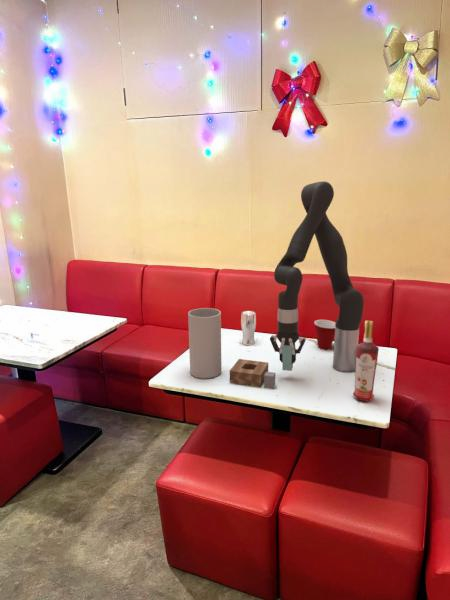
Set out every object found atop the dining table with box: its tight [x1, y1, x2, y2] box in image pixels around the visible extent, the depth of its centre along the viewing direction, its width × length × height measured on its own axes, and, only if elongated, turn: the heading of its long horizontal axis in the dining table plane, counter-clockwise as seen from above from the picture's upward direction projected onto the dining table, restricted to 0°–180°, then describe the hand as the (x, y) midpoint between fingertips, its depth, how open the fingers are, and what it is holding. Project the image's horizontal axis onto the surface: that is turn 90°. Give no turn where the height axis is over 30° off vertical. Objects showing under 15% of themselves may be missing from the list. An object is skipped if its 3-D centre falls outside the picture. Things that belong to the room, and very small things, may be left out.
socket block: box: [229, 358, 269, 388], centre depth 164 cm, size 12×12×5 cm
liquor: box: [352, 320, 380, 402], centre depth 145 cm, size 7×7×28 cm
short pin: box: [263, 371, 276, 390], centre depth 158 cm, size 3×3×5 cm
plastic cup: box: [313, 319, 336, 351], centre depth 194 cm, size 11×11×12 cm
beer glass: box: [240, 310, 257, 346], centre depth 200 cm, size 7×7×15 cm
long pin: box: [281, 345, 294, 372], centre depth 162 cm, size 3×3×10 cm
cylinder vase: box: [187, 307, 222, 380], centre depth 167 cm, size 12×12×25 cm
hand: (287, 362), depth 163 cm, fingers closed on long pin, 3 cm apart
